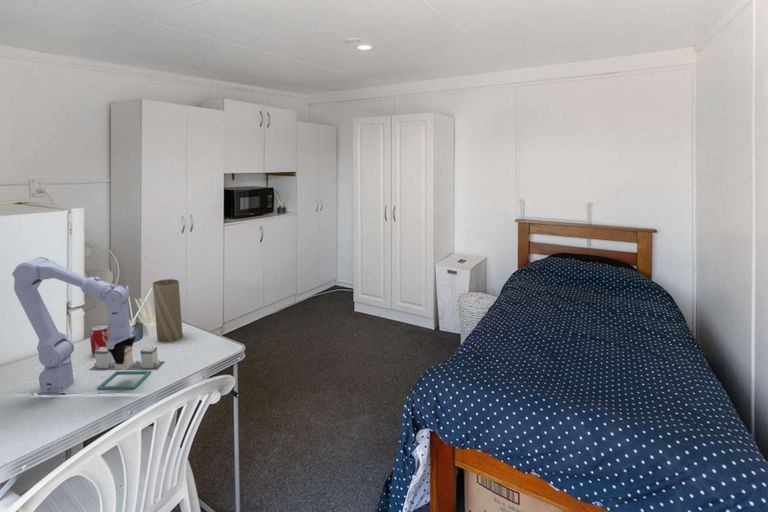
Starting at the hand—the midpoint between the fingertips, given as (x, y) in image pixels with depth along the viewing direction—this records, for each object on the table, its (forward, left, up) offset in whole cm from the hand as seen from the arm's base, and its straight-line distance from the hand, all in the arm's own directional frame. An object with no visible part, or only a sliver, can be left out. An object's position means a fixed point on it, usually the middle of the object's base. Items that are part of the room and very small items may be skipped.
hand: (123, 360), depth 153 cm
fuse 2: (+12, -3, -7) cm, 14 cm away
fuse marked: (0, 0, -2) cm, 2 cm away
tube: (+42, +2, -9) cm, 43 cm away
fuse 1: (+12, +13, -7) cm, 19 cm away
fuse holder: (+12, +5, -9) cm, 16 cm away
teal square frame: (0, 0, -9) cm, 9 cm away
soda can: (+23, +20, -9) cm, 32 cm away
